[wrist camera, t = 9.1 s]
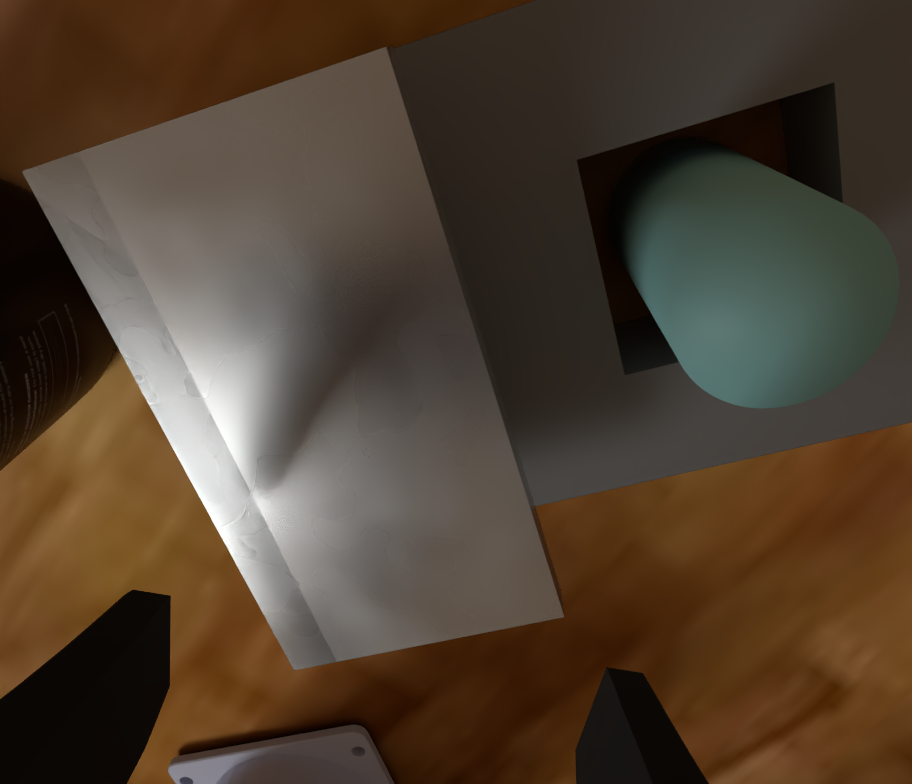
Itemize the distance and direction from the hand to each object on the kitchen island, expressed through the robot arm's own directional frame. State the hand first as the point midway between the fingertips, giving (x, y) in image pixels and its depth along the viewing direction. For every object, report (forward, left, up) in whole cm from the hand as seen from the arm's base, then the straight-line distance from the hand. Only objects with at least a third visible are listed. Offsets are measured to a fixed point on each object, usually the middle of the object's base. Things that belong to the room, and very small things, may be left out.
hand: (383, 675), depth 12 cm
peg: (+3, -8, -10) cm, 13 cm away
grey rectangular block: (+3, 0, -10) cm, 10 cm away
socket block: (+3, -8, -10) cm, 13 cm away
